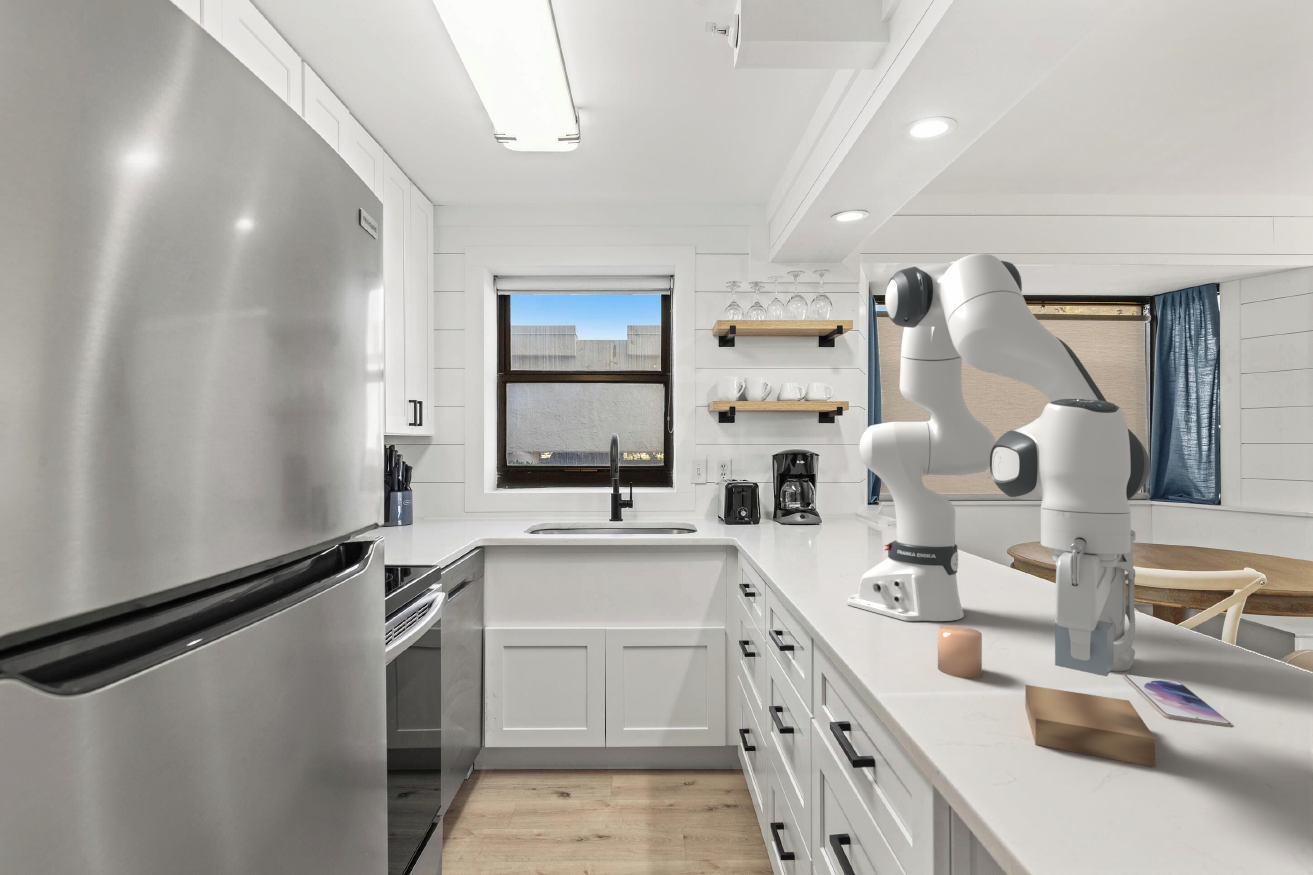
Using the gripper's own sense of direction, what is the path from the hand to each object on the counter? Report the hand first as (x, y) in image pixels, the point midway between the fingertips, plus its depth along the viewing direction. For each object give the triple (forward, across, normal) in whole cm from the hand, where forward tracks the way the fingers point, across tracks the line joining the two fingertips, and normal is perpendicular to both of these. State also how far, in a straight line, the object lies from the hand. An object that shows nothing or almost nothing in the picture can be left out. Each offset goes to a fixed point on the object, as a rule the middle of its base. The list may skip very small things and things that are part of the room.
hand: (1084, 650), depth 74 cm
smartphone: (+10, +20, -8) cm, 24 cm away
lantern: (+10, +34, +2) cm, 35 cm away
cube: (+2, 0, 0) cm, 2 cm away
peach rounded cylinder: (+10, +13, +17) cm, 23 cm away
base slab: (+10, 0, 0) cm, 10 cm away
